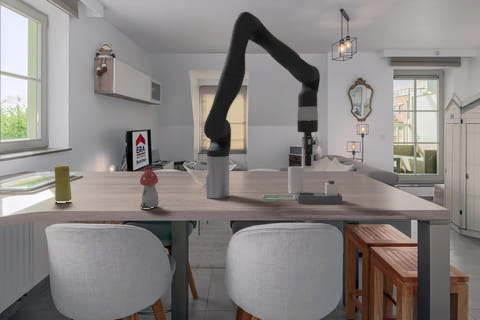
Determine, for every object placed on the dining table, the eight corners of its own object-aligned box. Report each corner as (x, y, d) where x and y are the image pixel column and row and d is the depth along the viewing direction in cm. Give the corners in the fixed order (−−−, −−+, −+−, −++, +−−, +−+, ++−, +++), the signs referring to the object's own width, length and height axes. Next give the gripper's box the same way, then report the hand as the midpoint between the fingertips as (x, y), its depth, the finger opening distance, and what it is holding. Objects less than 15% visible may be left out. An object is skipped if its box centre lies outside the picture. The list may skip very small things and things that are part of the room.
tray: (262, 202, 153) (262, 198, 153) (262, 198, 162) (262, 194, 162) (295, 203, 152) (295, 199, 152) (294, 198, 161) (294, 194, 161)
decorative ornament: (143, 205, 150) (142, 165, 149) (160, 204, 151) (159, 165, 149) (138, 210, 141) (137, 168, 139) (156, 210, 141) (155, 168, 140)
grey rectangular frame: (298, 206, 146) (298, 195, 146) (296, 202, 153) (297, 192, 153) (342, 206, 145) (342, 196, 145) (338, 203, 152) (338, 192, 152)
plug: (302, 168, 146) (302, 146, 146) (301, 166, 150) (301, 146, 150) (313, 168, 146) (313, 146, 145) (312, 166, 150) (312, 145, 149)
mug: (303, 196, 166) (303, 168, 165) (287, 195, 167) (287, 167, 166) (304, 192, 176) (304, 165, 174) (289, 191, 177) (289, 165, 176)
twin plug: (326, 202, 147) (326, 181, 146) (324, 200, 151) (325, 180, 150) (337, 203, 147) (337, 181, 146) (335, 200, 151) (335, 180, 150)
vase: (59, 200, 159) (57, 165, 158) (74, 200, 159) (72, 165, 158) (52, 203, 153) (50, 167, 152) (68, 203, 153) (66, 167, 152)
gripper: (296, 119, 154) (296, 163, 155) (299, 119, 140) (298, 167, 141) (315, 119, 153) (315, 163, 155) (320, 119, 139) (320, 167, 141)
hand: (307, 165), depth 148 cm, fingers closed on plug, 4 cm apart
